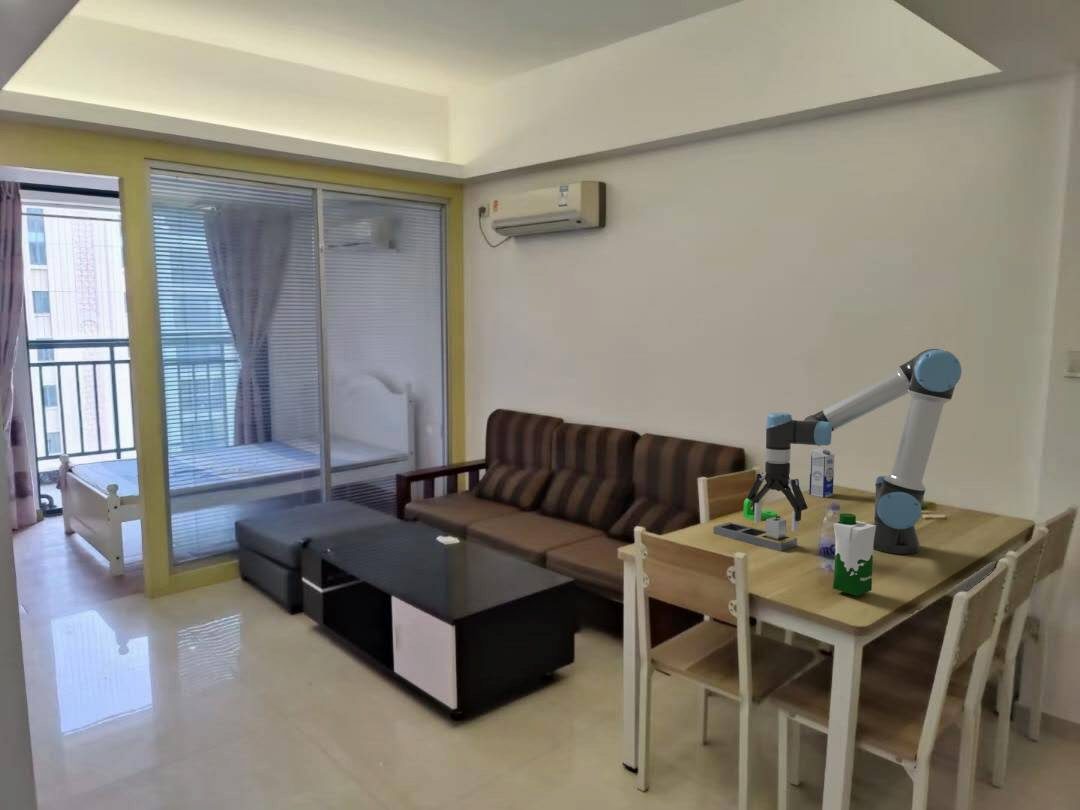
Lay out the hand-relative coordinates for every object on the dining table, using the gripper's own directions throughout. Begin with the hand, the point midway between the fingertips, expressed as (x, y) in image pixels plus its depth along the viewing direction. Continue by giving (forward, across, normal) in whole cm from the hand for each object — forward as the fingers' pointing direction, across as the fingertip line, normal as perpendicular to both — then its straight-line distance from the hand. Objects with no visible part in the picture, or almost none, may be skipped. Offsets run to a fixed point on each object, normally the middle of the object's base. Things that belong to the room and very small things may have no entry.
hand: (775, 526), depth 236 cm
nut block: (+6, 0, 0) cm, 6 cm away
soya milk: (+6, -36, +20) cm, 42 cm away
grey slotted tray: (+6, +8, 0) cm, 10 cm away
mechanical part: (+7, +22, -26) cm, 34 cm away
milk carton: (+6, +25, -73) cm, 77 cm away
